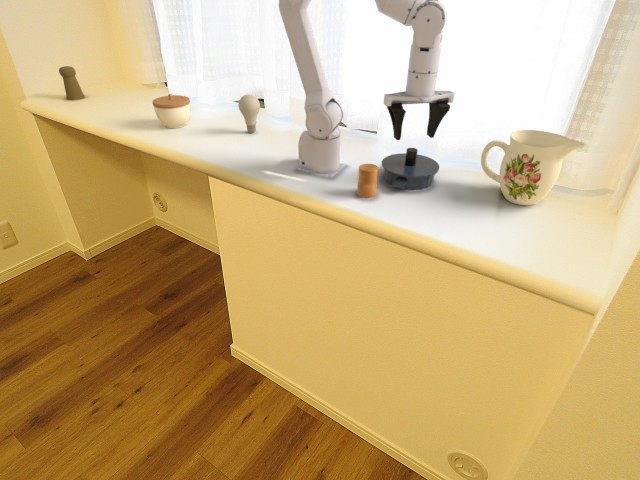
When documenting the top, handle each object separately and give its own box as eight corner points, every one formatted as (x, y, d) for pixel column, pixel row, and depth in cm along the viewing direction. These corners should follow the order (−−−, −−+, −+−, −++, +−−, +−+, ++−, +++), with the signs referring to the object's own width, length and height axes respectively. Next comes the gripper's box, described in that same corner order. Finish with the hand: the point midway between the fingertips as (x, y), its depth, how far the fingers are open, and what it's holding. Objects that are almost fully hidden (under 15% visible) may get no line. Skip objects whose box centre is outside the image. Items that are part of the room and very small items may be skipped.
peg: (354, 197, 87) (356, 169, 83) (361, 189, 90) (363, 162, 86) (371, 201, 85) (374, 172, 82) (378, 193, 88) (381, 165, 85)
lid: (373, 173, 90) (374, 154, 87) (391, 154, 99) (393, 136, 97) (430, 185, 85) (434, 165, 82) (444, 163, 94) (447, 145, 92)
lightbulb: (248, 137, 117) (244, 98, 111) (237, 132, 121) (233, 94, 115) (266, 133, 120) (263, 95, 114) (255, 127, 124) (251, 90, 118)
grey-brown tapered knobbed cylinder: (88, 97, 153) (78, 66, 147) (72, 100, 149) (62, 69, 143) (78, 95, 156) (69, 64, 150) (63, 98, 151) (52, 67, 145)
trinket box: (157, 132, 121) (150, 100, 115) (157, 121, 129) (151, 91, 124) (194, 128, 123) (189, 97, 118) (192, 118, 132) (187, 88, 127)
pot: (372, 190, 90) (373, 175, 87) (395, 163, 102) (397, 149, 100) (422, 201, 85) (424, 185, 83) (440, 172, 98) (442, 157, 96)
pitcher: (483, 176, 96) (498, 118, 88) (567, 199, 86) (591, 137, 78) (465, 193, 88) (479, 132, 81) (554, 220, 79) (579, 153, 71)
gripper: (395, 76, 76) (388, 146, 83) (466, 73, 78) (453, 141, 86) (382, 69, 82) (377, 134, 89) (449, 66, 84) (438, 130, 91)
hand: (413, 137), depth 88 cm, fingers open, 7 cm apart
